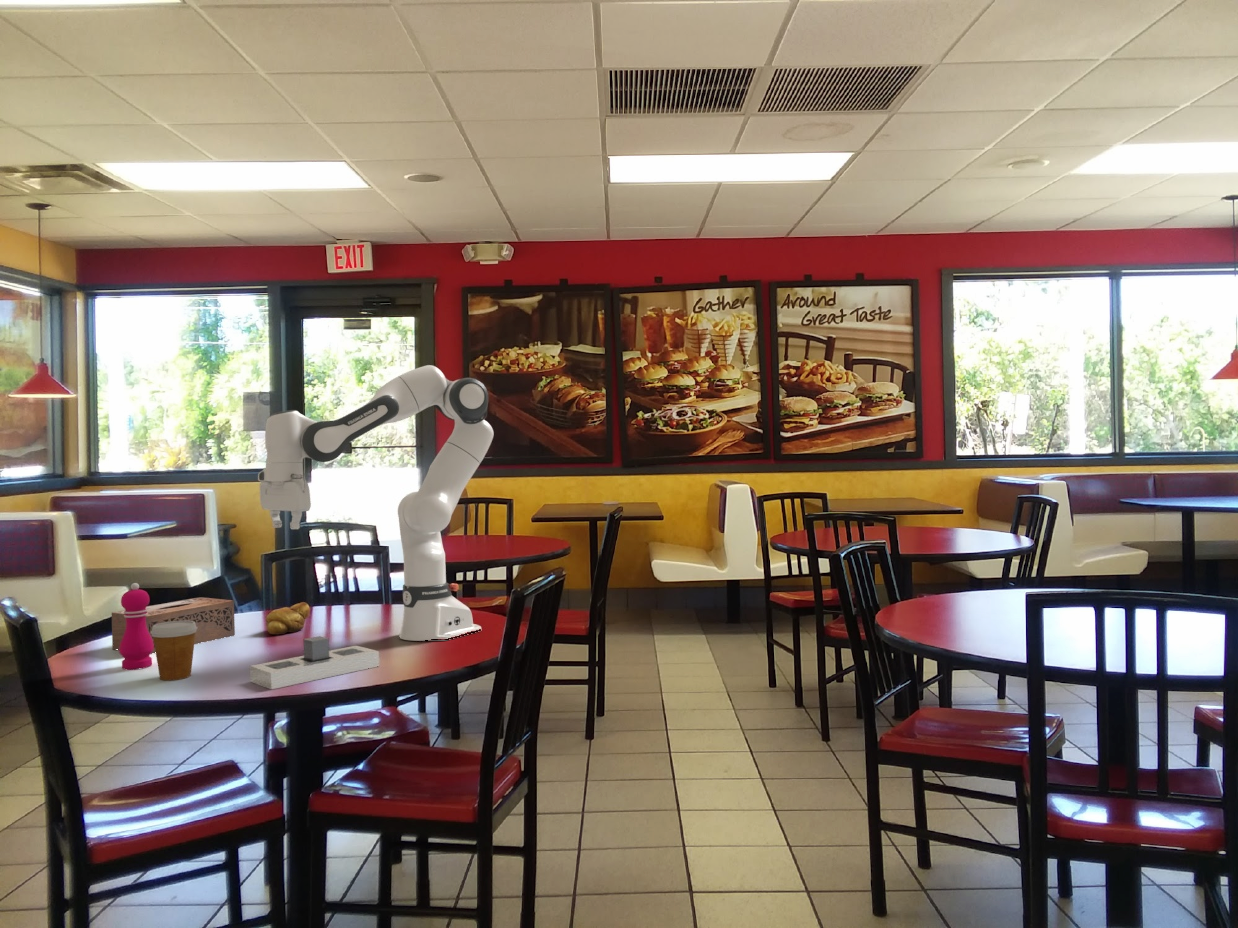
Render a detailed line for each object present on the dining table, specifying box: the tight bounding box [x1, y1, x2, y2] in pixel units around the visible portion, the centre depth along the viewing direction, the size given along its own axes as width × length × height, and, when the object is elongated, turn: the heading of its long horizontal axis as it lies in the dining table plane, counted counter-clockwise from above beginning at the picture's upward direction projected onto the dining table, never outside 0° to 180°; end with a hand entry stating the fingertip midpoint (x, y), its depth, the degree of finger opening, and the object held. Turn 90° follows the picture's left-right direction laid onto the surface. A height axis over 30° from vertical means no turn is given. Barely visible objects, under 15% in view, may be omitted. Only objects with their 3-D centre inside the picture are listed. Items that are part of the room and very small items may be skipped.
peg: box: [303, 635, 330, 662], centre depth 202 cm, size 4×4×8 cm
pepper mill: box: [118, 582, 154, 670], centre depth 212 cm, size 7×7×20 cm
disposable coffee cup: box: [151, 621, 198, 681], centre depth 201 cm, size 10×10×12 cm
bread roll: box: [265, 601, 311, 635], centre depth 251 cm, size 13×10×8 cm
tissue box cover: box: [111, 596, 236, 655], centre depth 239 cm, size 26×14×10 cm, turn 151°
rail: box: [249, 645, 380, 690], centre depth 202 cm, size 26×10×4 cm, turn 137°
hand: (286, 528), depth 227 cm, fingers open, 8 cm apart
